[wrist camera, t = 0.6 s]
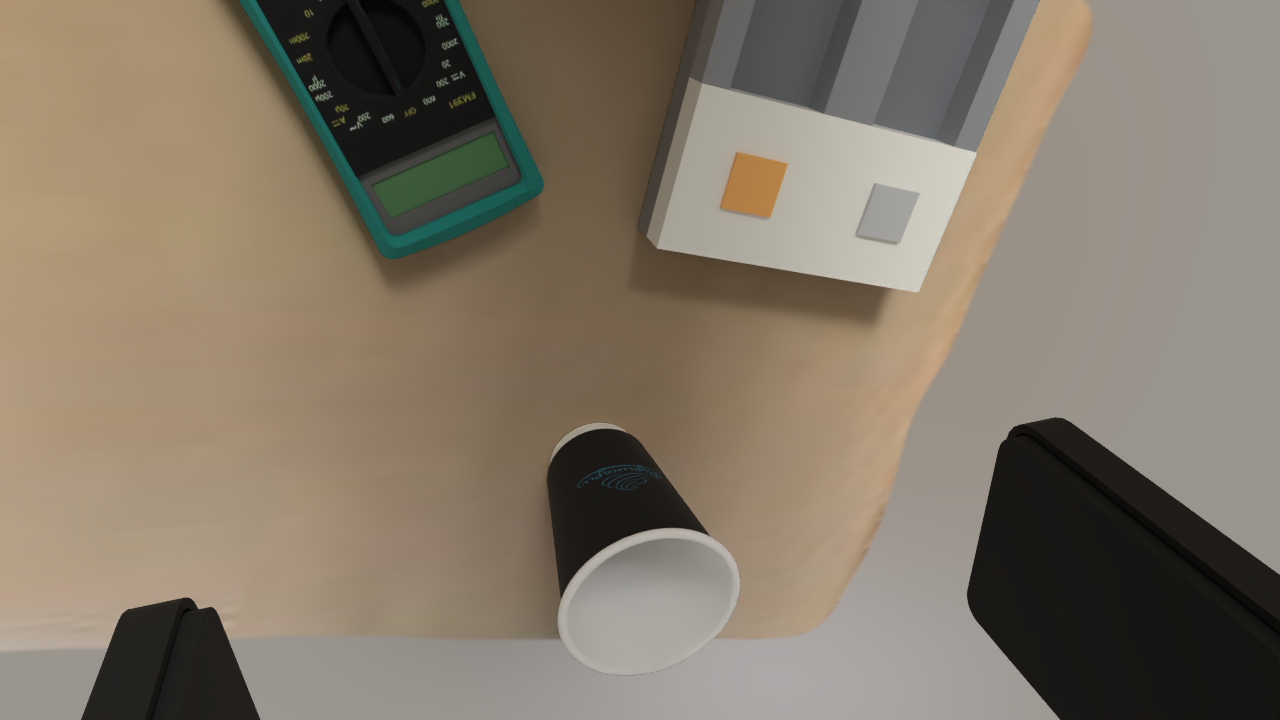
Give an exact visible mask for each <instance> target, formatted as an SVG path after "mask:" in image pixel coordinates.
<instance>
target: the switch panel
mask: <svg viewBox="0 0 1280 720" xmlns="http://www.w3.org/2000/svg"><path fill="white" fill-rule="evenodd" d="M1039 1H1040V0H697V2H696V6H695V10H694V14H693V17H692V21H691V25H690V29H689V33H688V36H687V40H686V44H685V48H684V52H683V55H682V59H681V63H680V67H679V71H678V74H677V78H676V82H675V86H674V89H673V93H672V97H671V101H670V105H669V108H668V112H667V116H666V120H665V124H664V127H663V131H662V135H661V139H660V143H659V146H658V150H657V154H656V158H655V162H654V165H653V169H652V173H651V177H650V181H649V184H648V188H647V192H646V196H645V200H644V203H643V207H642V211H641V215H640V219H639V222H638V227H639V228H640V229H641V231H642V232H643V233H644V234H645V235H646V236H647V238H648V239H649V240H650V241H651V242H652V243H653V245H654V246H655V247H656V248H657V249H663V250H669V251H675V252H681V253H687V254H692V255H698V256H704V257H710V258H716V259H722V260H728V261H734V262H740V263H746V264H752V265H758V266H763V267H769V268H775V269H781V270H787V271H793V272H799V273H805V274H811V275H817V276H823V277H829V278H834V279H840V280H846V281H852V282H858V283H864V284H870V285H876V286H882V287H888V288H894V289H900V290H906V291H911V292H917V293H918V292H919V290H920V287H921V285H922V283H923V280H924V278H925V276H926V273H927V271H928V268H929V266H930V264H931V261H932V259H933V257H934V254H935V252H936V249H937V247H938V245H939V242H940V240H941V238H942V235H943V233H944V230H945V228H946V226H947V223H948V221H949V219H950V216H951V214H952V211H953V209H954V207H955V204H956V202H957V200H958V197H959V195H960V192H961V190H962V188H963V185H964V183H965V181H966V178H967V176H968V174H969V171H970V169H971V166H972V164H973V162H974V159H975V157H976V155H977V153H976V151H977V148H978V146H979V144H980V141H981V139H982V137H983V134H984V132H985V129H986V127H987V125H988V122H989V120H990V117H991V115H992V113H993V110H994V108H995V106H996V103H997V101H998V98H999V96H1000V94H1001V91H1002V89H1003V87H1004V84H1005V82H1006V79H1007V77H1008V75H1009V72H1010V70H1011V68H1012V65H1013V63H1014V60H1015V58H1016V56H1017V53H1018V51H1019V49H1020V46H1021V44H1022V41H1023V39H1024V37H1025V34H1026V32H1027V29H1028V27H1029V25H1030V22H1031V20H1032V18H1033V15H1034V13H1035V10H1036V8H1037V6H1038V3H1039Z"/></svg>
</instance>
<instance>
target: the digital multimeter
mask: <svg viewBox="0 0 1280 720" xmlns="http://www.w3.org/2000/svg"><path fill="white" fill-rule="evenodd" d="M339 1H340V0H239V2H240V4H241V5H242V7H243V9H244V10H245V12H246V13H247V15H248V17H249V18H250V20H251V22H252V23H253V25H254V27H255V28H256V30H257V31H258V33H259V35H260V36H261V38H262V40H263V41H264V43H265V45H266V46H267V48H268V50H269V51H270V53H271V54H272V56H273V58H274V59H275V61H276V63H277V64H278V66H279V68H280V69H281V71H282V72H283V74H284V76H285V77H286V79H287V81H288V83H289V84H290V86H291V88H292V90H293V91H294V93H295V95H296V97H297V99H298V100H299V102H300V104H301V106H302V107H303V109H304V111H305V113H306V115H307V116H308V118H309V120H310V122H311V124H312V125H313V127H314V129H315V131H316V132H317V134H318V136H319V138H320V140H321V141H322V143H323V145H324V147H325V148H326V150H327V152H328V154H329V156H330V157H331V159H332V161H333V163H334V165H335V167H336V169H337V170H338V172H339V174H340V176H341V178H342V180H343V182H344V184H345V186H346V188H347V190H348V192H349V193H350V195H351V197H352V199H353V201H354V203H355V205H356V207H357V209H358V211H359V213H360V215H361V217H362V218H363V220H364V222H365V224H366V226H367V228H368V230H369V232H370V234H371V236H372V238H373V240H374V242H375V243H376V245H377V247H378V249H379V251H380V253H381V254H382V255H383V256H384V257H385V258H389V259H397V258H400V257H403V256H406V255H409V254H412V253H415V252H418V251H421V250H423V249H426V248H429V247H432V246H434V245H437V244H440V243H442V242H445V241H447V240H450V239H453V238H455V237H458V236H460V235H462V234H464V233H466V232H469V231H471V230H473V229H475V228H478V227H480V226H482V225H484V224H486V223H488V222H490V221H492V220H494V219H496V218H498V217H499V216H501V215H503V214H505V213H507V212H509V211H511V210H513V209H514V208H516V207H518V206H520V205H522V204H523V203H525V202H527V201H529V200H530V199H532V198H534V197H536V196H537V195H538V194H540V193H541V192H542V190H543V187H544V183H543V179H542V177H541V175H540V173H539V171H538V169H537V166H536V164H535V162H534V160H533V158H532V156H531V154H530V152H529V150H528V148H527V146H526V144H525V142H524V140H523V138H522V136H521V134H520V132H519V130H518V128H517V126H516V124H515V122H514V120H513V118H512V115H511V113H510V111H509V109H508V107H507V105H506V103H505V101H504V99H503V97H502V95H501V93H500V91H499V89H498V87H497V84H496V82H495V80H494V78H493V76H492V73H491V71H490V69H489V67H488V65H487V62H486V60H485V58H484V56H483V54H482V51H481V49H480V47H479V45H478V43H477V40H476V38H475V36H474V34H473V32H472V29H471V27H470V25H469V23H468V21H467V18H466V16H465V14H464V12H463V10H462V7H461V5H460V3H459V0H341V1H340V2H339ZM402 1H403V2H402ZM405 3H406V4H405ZM411 8H412V9H413V10H414V11H415V12H414V11H413V10H412V9H411ZM326 16H327V17H326ZM419 17H420V18H419ZM421 20H422V21H421ZM322 26H323V28H322ZM425 27H426V28H425ZM426 29H427V30H426ZM431 48H432V50H431ZM431 58H432V61H431ZM323 59H324V60H323ZM429 69H430V70H429ZM329 72H330V73H329ZM333 78H334V79H333ZM419 87H420V88H419ZM418 88H419V89H418ZM352 95H353V96H352ZM410 95H411V96H410ZM363 100H364V101H363ZM370 102H371V103H370ZM515 183H517V184H515ZM513 184H514V185H513ZM511 185H512V186H511ZM506 187H507V188H506ZM504 188H505V189H504Z"/></svg>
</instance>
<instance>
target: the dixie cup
mask: <svg viewBox="0 0 1280 720" xmlns="http://www.w3.org/2000/svg"><path fill="white" fill-rule="evenodd" d="M547 485H548V493H549V502H550V510H551V519H552V527H553V536H554V545H555V553H556V562H557V570H558V579H559V588H560V596H561V602H560V606H559V611H558V630H559V634H560V638H561V640H562V642H563V644H564V646H565V648H566V649H567V651H568V652H569V653H570V655H571V656H572V657H574V659H575V660H577V661H578V662H579V663H581V664H582V665H584V666H586V667H588V668H590V669H592V670H594V671H597V672H600V673H605V674H610V675H618V676H634V675H643V674H648V673H653V672H657V671H660V670H663V669H666V668H669V667H672V666H674V665H676V664H678V663H680V662H682V661H684V660H686V659H688V658H690V657H691V656H693V655H694V654H696V653H697V652H699V651H700V650H702V649H703V648H704V647H705V646H706V645H708V644H709V643H710V642H711V641H712V640H713V639H714V638H715V637H716V636H717V635H718V634H719V633H720V631H721V630H722V629H723V628H724V626H725V625H726V623H727V622H728V620H729V619H730V617H731V615H732V613H733V611H734V609H735V606H736V604H737V600H738V597H739V591H740V577H739V572H738V568H737V565H736V562H735V560H734V559H733V557H732V555H731V554H730V552H729V551H728V550H727V549H726V548H725V547H724V546H723V545H722V544H720V543H719V542H718V541H717V540H715V539H713V538H712V537H710V535H709V534H708V533H707V531H706V530H705V529H704V527H703V526H702V525H701V523H700V522H699V521H698V519H697V518H696V517H695V515H694V514H693V513H692V511H691V510H690V508H689V507H688V506H687V504H686V503H685V502H684V500H683V499H682V498H681V496H680V495H679V494H678V492H677V491H676V490H675V488H674V487H673V486H672V484H671V483H670V482H669V480H668V479H667V478H666V476H665V475H664V474H663V472H662V471H661V470H660V468H659V467H658V465H657V464H656V463H655V461H654V460H653V459H652V457H651V456H650V455H649V453H648V452H647V451H646V449H645V448H644V447H643V445H642V444H641V443H640V442H639V441H638V440H637V439H636V438H635V437H633V436H632V435H630V434H628V433H627V432H626V431H625V430H624V429H622V428H620V427H618V426H616V425H613V424H609V423H591V424H587V425H583V426H581V427H578V428H576V429H574V430H572V431H571V432H569V433H568V434H567V435H565V436H564V437H563V438H562V439H561V440H560V441H559V443H558V444H557V445H556V447H555V448H554V450H553V453H552V455H551V459H550V466H549V469H548V474H547Z"/></svg>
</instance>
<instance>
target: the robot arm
mask: <svg viewBox="0 0 1280 720" xmlns="http://www.w3.org/2000/svg"><path fill="white" fill-rule="evenodd" d="M967 599H968V604H969V608H970V610H971V612H972V614H973V616H974V618H975V619H976V621H977V622H978V623H979V624H980V626H981V627H982V628H983V629H984V630H985V631H986V633H987V634H988V635H989V636H990V637H991V639H992V640H993V641H994V642H995V643H996V644H997V646H998V647H999V648H1000V649H1001V650H1002V652H1003V653H1004V654H1005V655H1006V656H1007V657H1008V659H1009V660H1010V661H1011V662H1012V663H1013V664H1014V666H1015V667H1016V668H1017V669H1018V670H1019V671H1020V673H1021V674H1022V675H1023V676H1024V677H1025V678H1026V680H1027V681H1028V682H1029V683H1030V685H1031V686H1032V687H1033V688H1034V689H1035V690H1036V692H1037V693H1038V694H1039V695H1040V696H1041V698H1042V699H1043V700H1044V701H1045V702H1046V703H1047V705H1048V706H1049V707H1050V708H1051V709H1052V710H1053V712H1054V713H1055V714H1056V715H1057V716H1058V718H1059V719H1060V720H1280V575H1279V574H1278V573H1276V572H1275V571H1274V570H1272V569H1271V568H1269V567H1268V566H1267V565H1265V564H1264V563H1263V562H1261V561H1260V560H1259V559H1257V558H1256V557H1254V556H1253V555H1252V554H1250V553H1249V552H1248V551H1246V550H1245V549H1243V548H1242V547H1241V546H1239V545H1238V544H1237V543H1235V542H1234V541H1232V540H1231V539H1230V538H1228V537H1227V536H1225V535H1224V534H1223V533H1221V532H1220V531H1219V530H1217V529H1216V528H1215V527H1213V526H1212V525H1211V524H1209V523H1208V522H1206V521H1205V520H1204V519H1202V518H1201V517H1200V516H1198V515H1197V514H1196V513H1194V512H1193V511H1191V510H1190V509H1189V508H1187V507H1186V506H1185V505H1183V504H1182V503H1180V502H1179V501H1178V500H1176V499H1175V498H1174V497H1172V496H1171V495H1169V494H1168V493H1167V492H1165V491H1164V490H1163V489H1161V488H1160V487H1158V486H1157V485H1156V484H1154V483H1153V482H1152V481H1150V480H1149V479H1148V478H1146V477H1145V476H1143V475H1142V474H1141V473H1139V472H1138V471H1137V470H1135V469H1134V468H1132V467H1131V466H1130V465H1128V464H1127V463H1126V462H1124V461H1123V460H1122V459H1120V458H1119V457H1117V456H1116V455H1115V454H1113V453H1112V452H1111V451H1109V450H1108V449H1106V448H1105V447H1104V446H1102V445H1101V444H1100V443H1098V442H1097V441H1095V440H1094V439H1093V438H1091V437H1090V436H1089V435H1087V434H1086V433H1085V432H1083V431H1082V430H1080V429H1079V428H1078V427H1076V426H1075V425H1074V424H1072V423H1071V422H1069V421H1067V420H1065V419H1063V418H1056V417H1055V418H1050V419H1045V420H1041V421H1036V422H1031V423H1026V424H1022V425H1018V426H1015V427H1013V429H1012V430H1011V431H1010V432H1009V434H1008V437H1007V439H1006V440H1004V441H1003V442H1002V443H1001V445H1000V447H999V450H998V455H997V459H996V463H995V468H994V473H993V477H992V481H991V486H990V491H989V495H988V500H987V504H986V509H985V514H984V518H983V522H982V527H981V531H980V536H979V541H978V545H977V550H976V554H975V559H974V563H973V568H972V572H971V576H970V581H969V586H968V590H967ZM81 720H260V718H259V715H258V713H257V710H256V708H255V705H254V703H253V700H252V698H251V695H250V693H249V691H248V688H247V685H246V683H245V680H244V678H243V675H242V673H241V670H240V668H239V665H238V663H237V660H236V658H235V656H234V653H233V650H232V648H231V645H230V643H229V640H228V638H227V635H226V633H225V630H224V628H223V625H222V623H221V620H220V618H219V615H218V614H217V612H216V610H215V609H214V608H213V607H208V608H204V609H199V610H198V608H197V606H196V604H195V602H194V601H193V600H192V599H190V598H181V599H176V600H172V601H167V602H162V603H157V604H152V605H147V606H143V607H138V608H133V609H128V610H126V611H125V612H124V613H123V614H122V615H121V617H120V619H119V621H118V623H117V626H116V628H115V631H114V634H113V636H112V639H111V642H110V644H109V647H108V650H107V652H106V655H105V658H104V660H103V663H102V666H101V669H100V671H99V674H98V676H97V679H96V682H95V684H94V687H93V690H92V692H91V695H90V698H89V701H88V703H87V706H86V708H85V711H84V714H83V716H82V719H81Z"/></svg>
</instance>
